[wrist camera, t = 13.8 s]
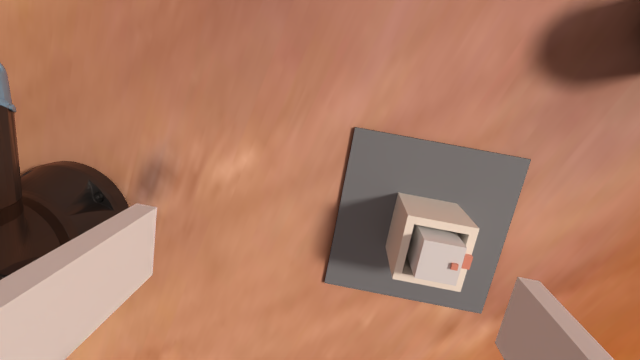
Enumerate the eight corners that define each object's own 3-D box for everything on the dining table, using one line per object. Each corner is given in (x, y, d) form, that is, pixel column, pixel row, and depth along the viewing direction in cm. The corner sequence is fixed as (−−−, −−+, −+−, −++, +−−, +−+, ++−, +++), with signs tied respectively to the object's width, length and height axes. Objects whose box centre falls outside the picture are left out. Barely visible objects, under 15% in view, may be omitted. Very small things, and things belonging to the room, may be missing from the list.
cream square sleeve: (385, 246, 47) (392, 281, 39) (398, 192, 45) (408, 216, 37) (442, 257, 47) (461, 294, 38) (457, 203, 45) (481, 230, 37)
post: (324, 281, 49) (317, 334, 39) (355, 127, 44) (356, 140, 34) (480, 311, 48) (515, 374, 38) (529, 159, 43) (585, 183, 33)
